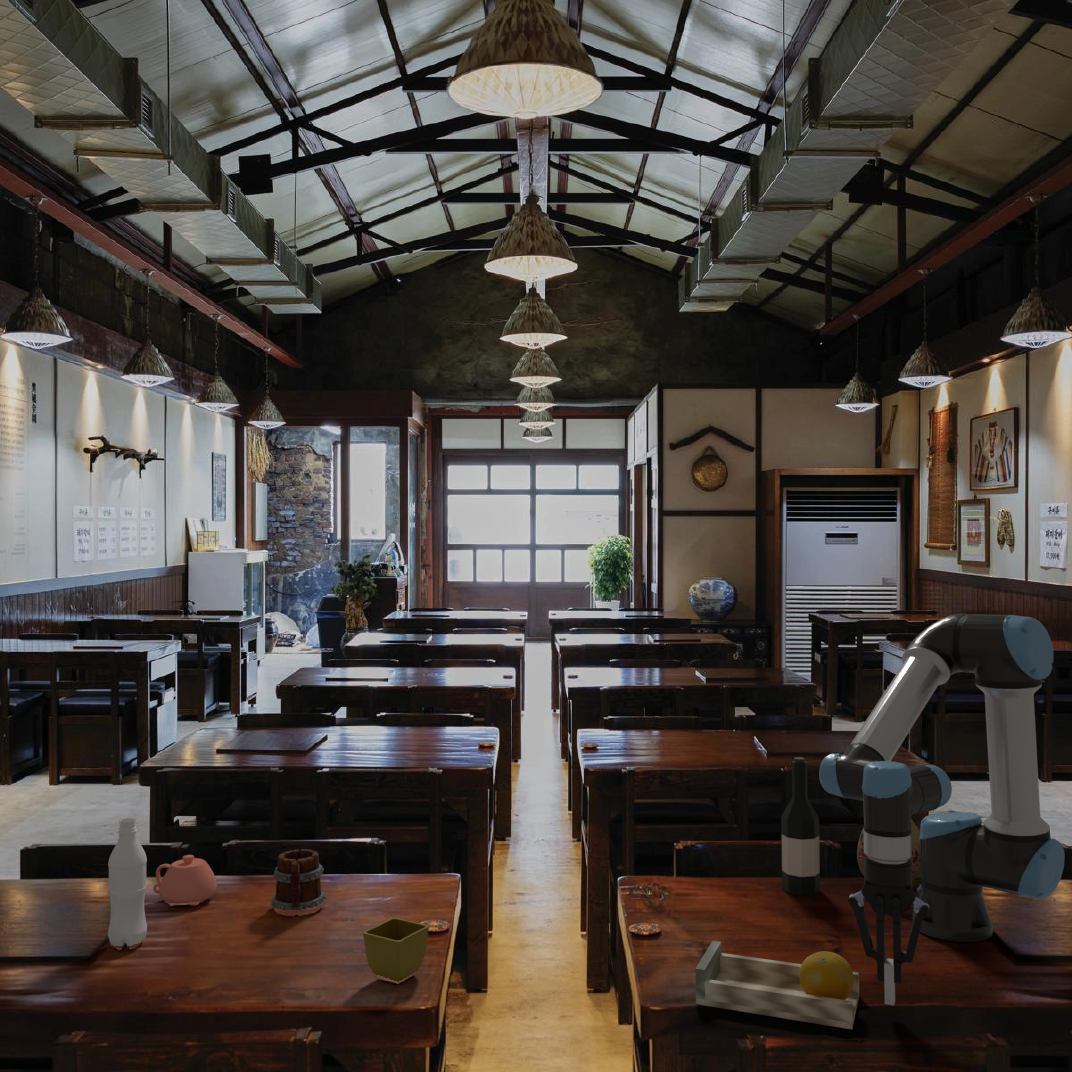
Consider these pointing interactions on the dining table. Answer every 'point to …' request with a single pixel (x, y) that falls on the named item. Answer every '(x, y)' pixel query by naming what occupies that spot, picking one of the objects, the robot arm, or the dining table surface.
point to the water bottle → (127, 887)
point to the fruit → (826, 975)
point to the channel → (767, 989)
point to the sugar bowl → (186, 881)
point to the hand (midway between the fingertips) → (889, 1001)
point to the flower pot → (396, 948)
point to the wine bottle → (800, 838)
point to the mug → (298, 880)
